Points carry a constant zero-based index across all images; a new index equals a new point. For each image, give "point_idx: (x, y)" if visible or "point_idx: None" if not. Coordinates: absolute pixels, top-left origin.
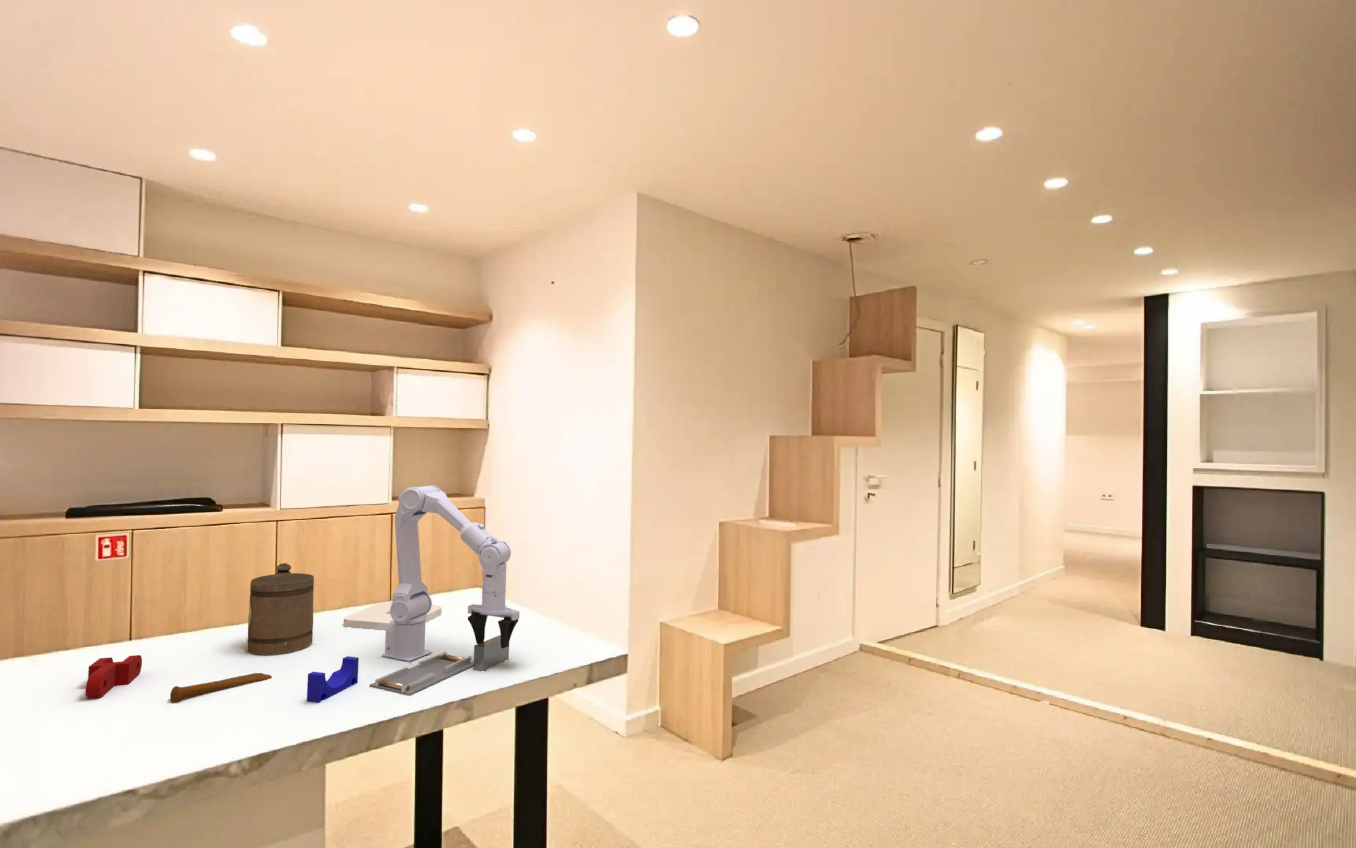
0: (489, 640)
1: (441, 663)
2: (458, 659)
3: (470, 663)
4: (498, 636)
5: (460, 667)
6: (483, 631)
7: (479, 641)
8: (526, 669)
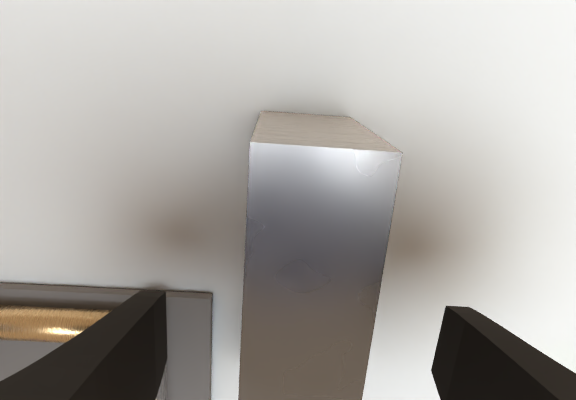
0: (267, 357)
1: None
2: None
3: (175, 314)
4: (271, 204)
5: (170, 385)
6: (117, 367)
7: (161, 365)
8: (556, 236)
